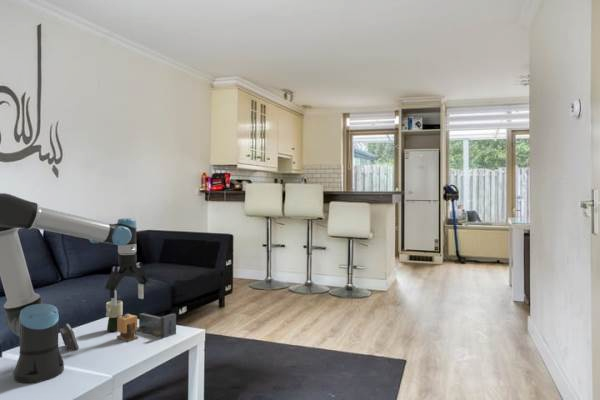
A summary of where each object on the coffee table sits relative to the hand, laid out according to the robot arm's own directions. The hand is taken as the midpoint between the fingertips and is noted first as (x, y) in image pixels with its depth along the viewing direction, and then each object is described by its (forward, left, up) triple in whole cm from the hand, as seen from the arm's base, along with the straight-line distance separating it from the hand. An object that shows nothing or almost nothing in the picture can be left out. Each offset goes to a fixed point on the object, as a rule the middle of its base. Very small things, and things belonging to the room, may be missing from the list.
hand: (127, 301), depth 188 cm
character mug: (+4, +15, -16) cm, 23 cm away
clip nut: (0, 0, -13) cm, 13 cm away
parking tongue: (0, 0, -16) cm, 16 cm away
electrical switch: (-20, +10, -16) cm, 28 cm away
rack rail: (+12, -3, -16) cm, 21 cm away
